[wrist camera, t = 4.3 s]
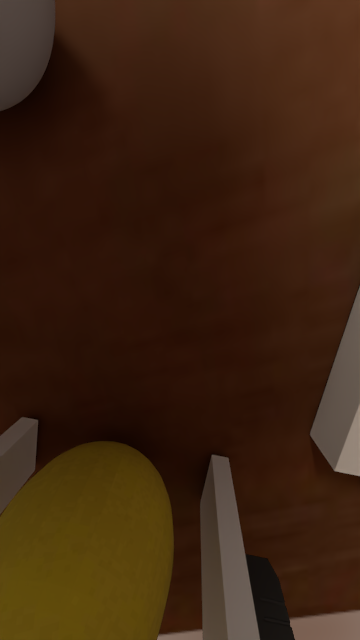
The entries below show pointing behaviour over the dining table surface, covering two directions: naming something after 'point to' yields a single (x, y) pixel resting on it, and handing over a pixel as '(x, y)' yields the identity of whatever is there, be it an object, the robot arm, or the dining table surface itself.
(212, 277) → the dining table surface
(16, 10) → the grey rubber ball
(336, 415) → the square dish
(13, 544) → the lemon
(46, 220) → the dining table surface
